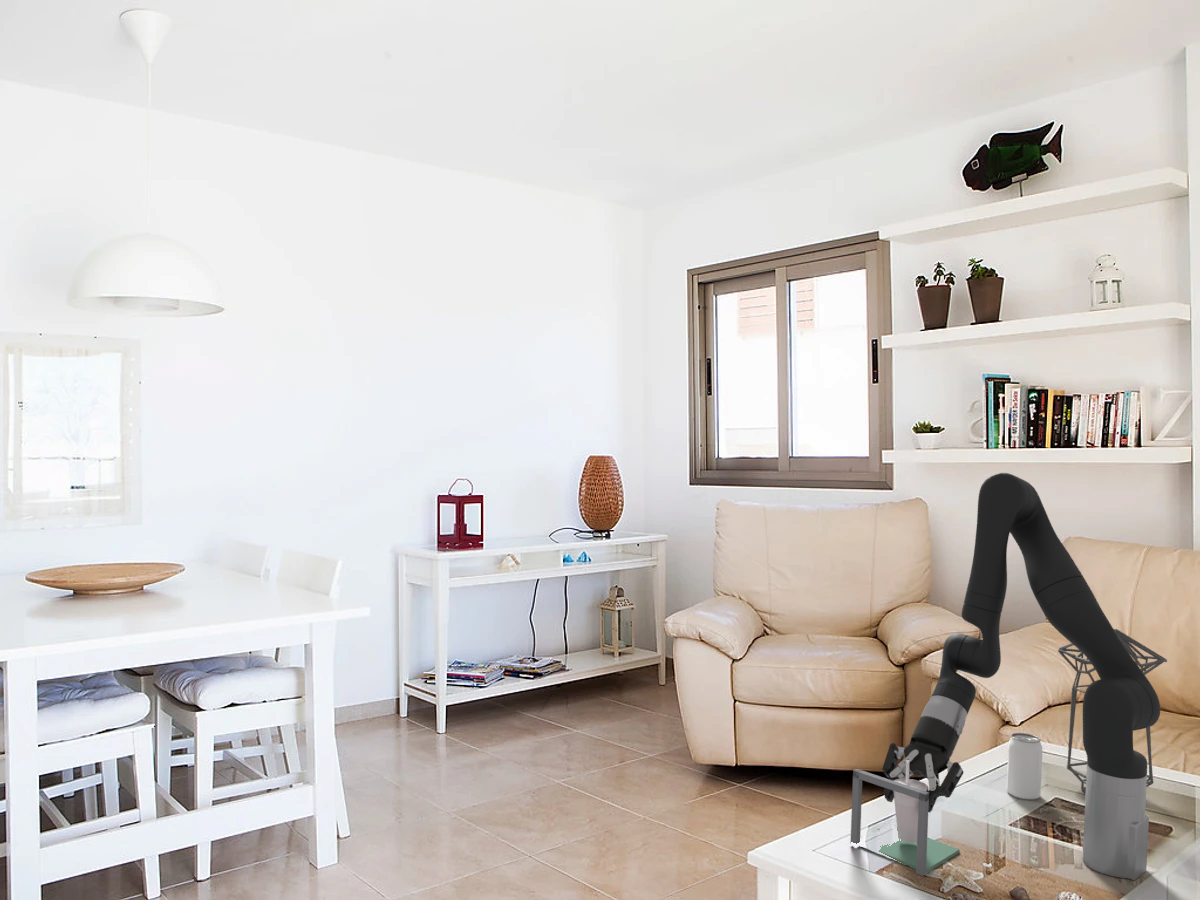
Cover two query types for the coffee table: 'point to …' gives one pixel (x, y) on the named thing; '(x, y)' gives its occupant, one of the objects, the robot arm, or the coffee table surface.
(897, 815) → the smoothie
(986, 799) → the coffee table surface
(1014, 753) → the can
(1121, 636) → the geometric lantern
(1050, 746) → the coffee table surface
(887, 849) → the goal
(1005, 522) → the robot arm
